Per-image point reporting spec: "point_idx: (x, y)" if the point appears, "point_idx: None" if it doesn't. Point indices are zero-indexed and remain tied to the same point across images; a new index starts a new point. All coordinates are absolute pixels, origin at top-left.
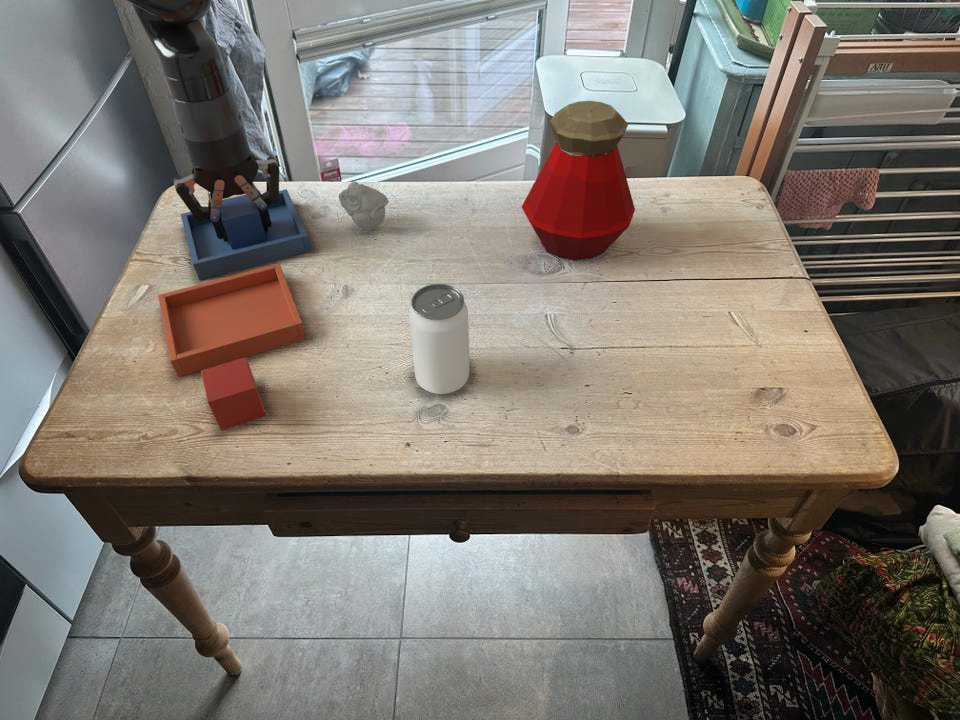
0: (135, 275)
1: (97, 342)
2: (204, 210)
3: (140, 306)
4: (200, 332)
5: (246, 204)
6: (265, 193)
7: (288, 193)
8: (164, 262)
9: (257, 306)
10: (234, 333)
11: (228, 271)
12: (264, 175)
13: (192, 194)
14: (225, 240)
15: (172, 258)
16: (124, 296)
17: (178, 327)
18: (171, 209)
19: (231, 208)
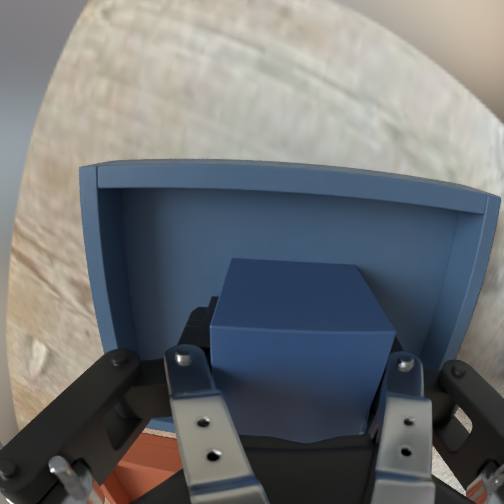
0: (17, 302)
1: (18, 410)
2: (149, 411)
3: (47, 387)
4: (149, 485)
5: (337, 399)
6: (432, 400)
7: (495, 229)
8: (61, 290)
9: None
10: None
11: None
12: (467, 493)
13: (89, 438)
14: None
15: (76, 285)
16: (17, 349)
17: (116, 466)
18: (95, 30)
19: (268, 403)
